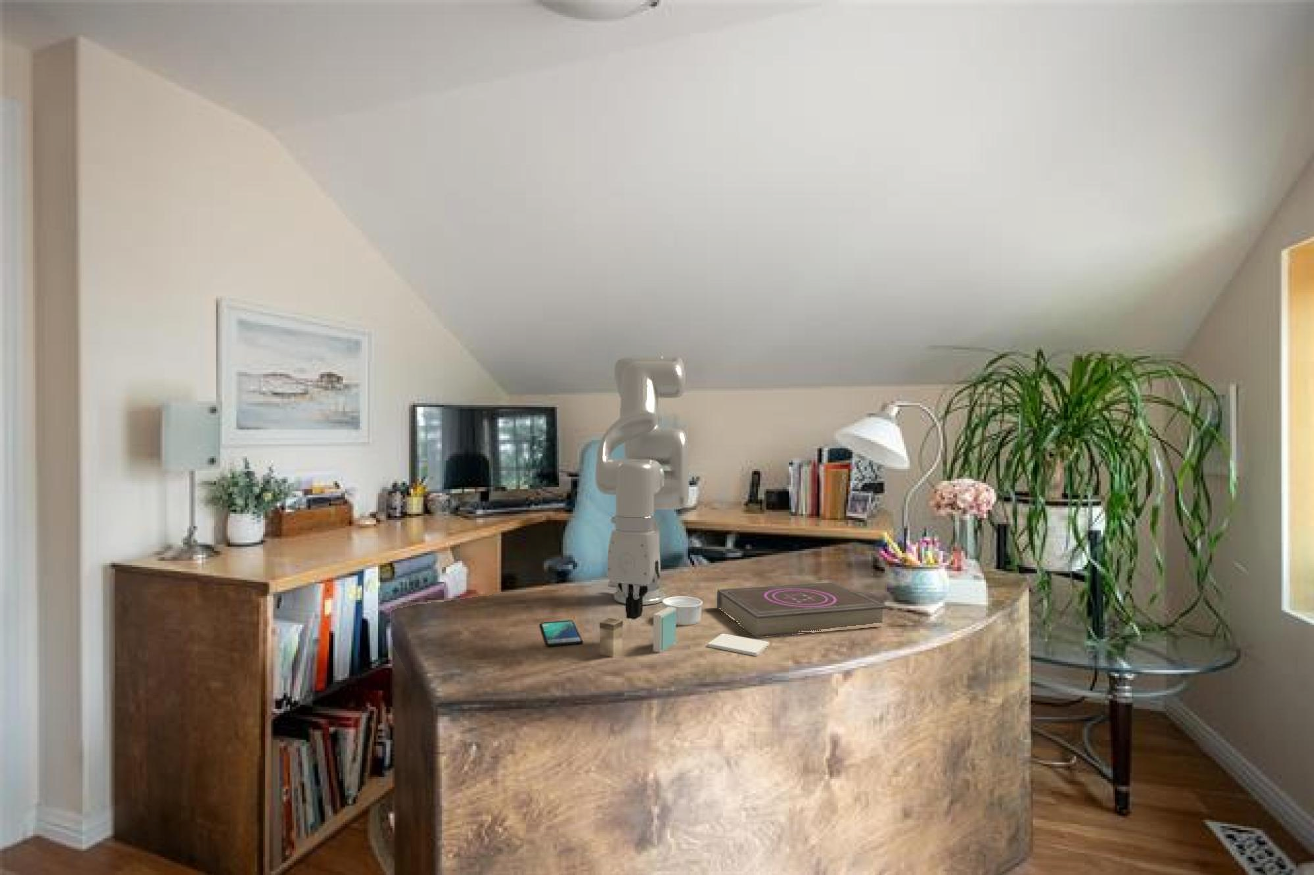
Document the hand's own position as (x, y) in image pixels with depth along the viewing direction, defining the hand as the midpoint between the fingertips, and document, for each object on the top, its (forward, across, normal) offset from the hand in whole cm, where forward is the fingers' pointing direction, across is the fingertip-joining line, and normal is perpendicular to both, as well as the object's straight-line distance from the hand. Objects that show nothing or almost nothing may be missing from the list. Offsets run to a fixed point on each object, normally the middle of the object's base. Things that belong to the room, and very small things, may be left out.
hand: (634, 617), depth 125 cm
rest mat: (+5, +19, +8) cm, 21 cm away
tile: (+5, +7, 0) cm, 8 cm away
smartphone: (+5, -15, -4) cm, 16 cm away
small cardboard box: (+5, 0, -8) cm, 9 cm away
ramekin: (+5, +2, +17) cm, 18 cm away
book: (+5, +23, +33) cm, 41 cm away
